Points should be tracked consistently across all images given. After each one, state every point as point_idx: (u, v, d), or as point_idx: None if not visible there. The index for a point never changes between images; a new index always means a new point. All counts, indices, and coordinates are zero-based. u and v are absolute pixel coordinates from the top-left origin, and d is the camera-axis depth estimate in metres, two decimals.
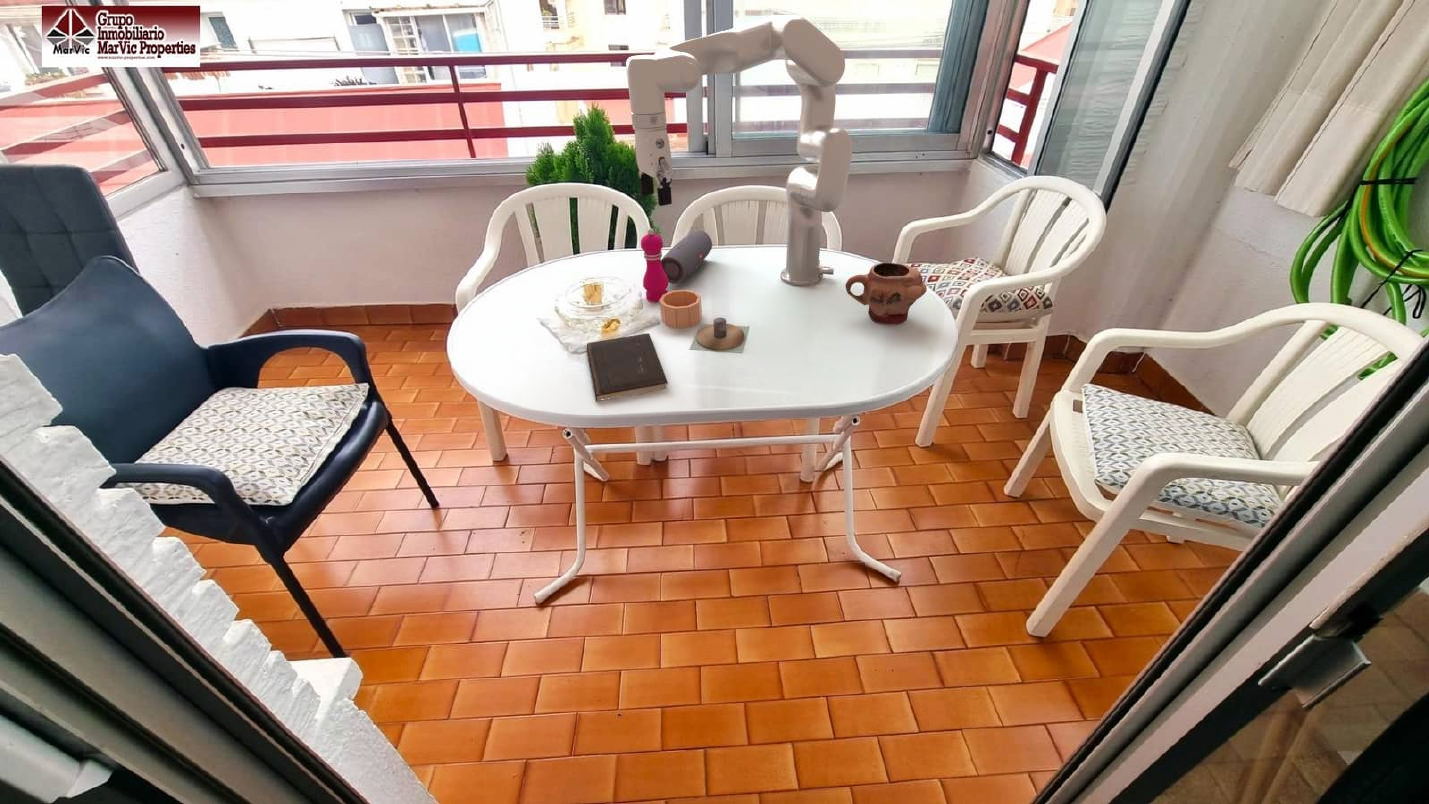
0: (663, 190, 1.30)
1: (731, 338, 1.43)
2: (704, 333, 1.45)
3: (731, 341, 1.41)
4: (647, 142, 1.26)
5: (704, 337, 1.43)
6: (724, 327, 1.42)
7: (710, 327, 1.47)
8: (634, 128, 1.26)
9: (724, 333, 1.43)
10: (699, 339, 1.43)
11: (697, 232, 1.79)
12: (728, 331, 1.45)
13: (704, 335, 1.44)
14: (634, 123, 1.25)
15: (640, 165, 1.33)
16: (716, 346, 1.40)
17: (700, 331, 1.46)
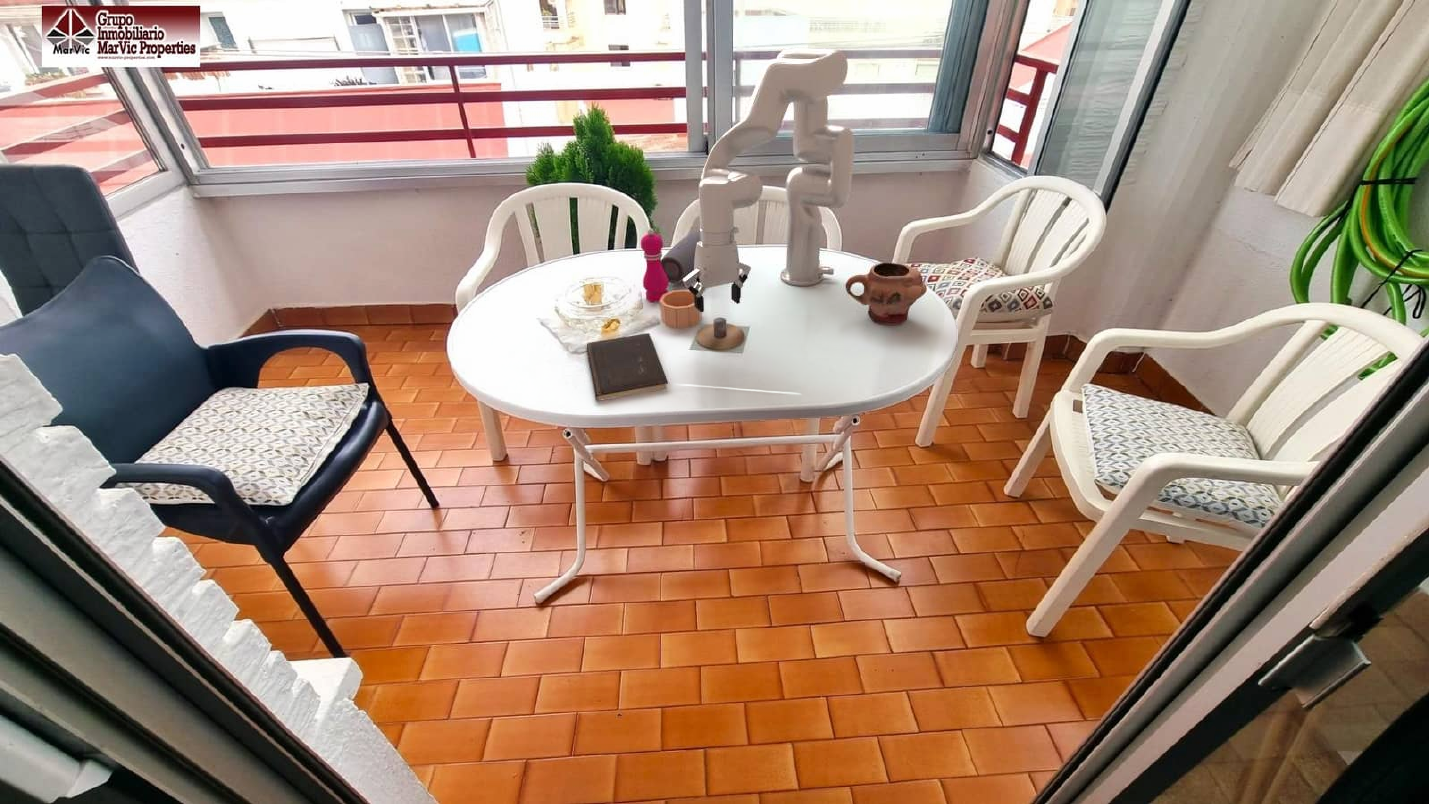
0: None
1: (731, 338, 1.43)
2: (704, 333, 1.45)
3: (731, 341, 1.41)
4: (733, 252, 1.30)
5: (704, 337, 1.43)
6: (724, 327, 1.42)
7: (710, 327, 1.47)
8: (725, 245, 1.27)
9: (724, 333, 1.43)
10: (699, 339, 1.43)
11: (697, 232, 1.79)
12: (728, 331, 1.45)
13: (704, 335, 1.44)
14: (726, 241, 1.26)
15: (713, 281, 1.32)
16: (716, 346, 1.40)
17: (700, 331, 1.46)
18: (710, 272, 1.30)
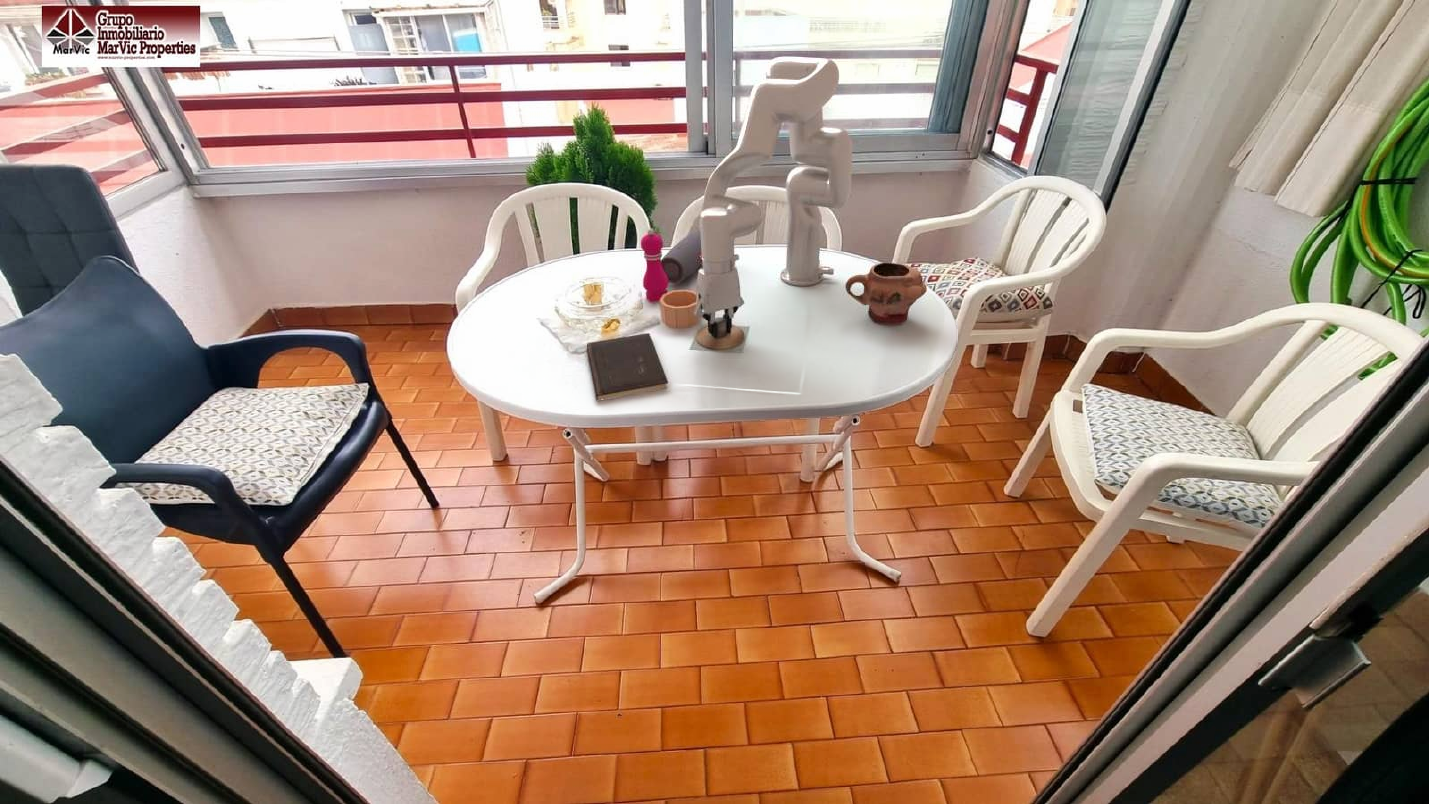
0: None
1: (731, 338, 1.43)
2: (704, 333, 1.45)
3: (731, 341, 1.41)
4: (734, 279, 1.35)
5: (704, 337, 1.43)
6: (724, 327, 1.42)
7: None
8: (726, 273, 1.31)
9: (724, 333, 1.43)
10: (699, 339, 1.43)
11: (697, 232, 1.79)
12: None
13: (704, 335, 1.44)
14: (727, 269, 1.30)
15: (715, 307, 1.36)
16: (716, 346, 1.40)
17: (700, 331, 1.46)
18: (712, 298, 1.35)
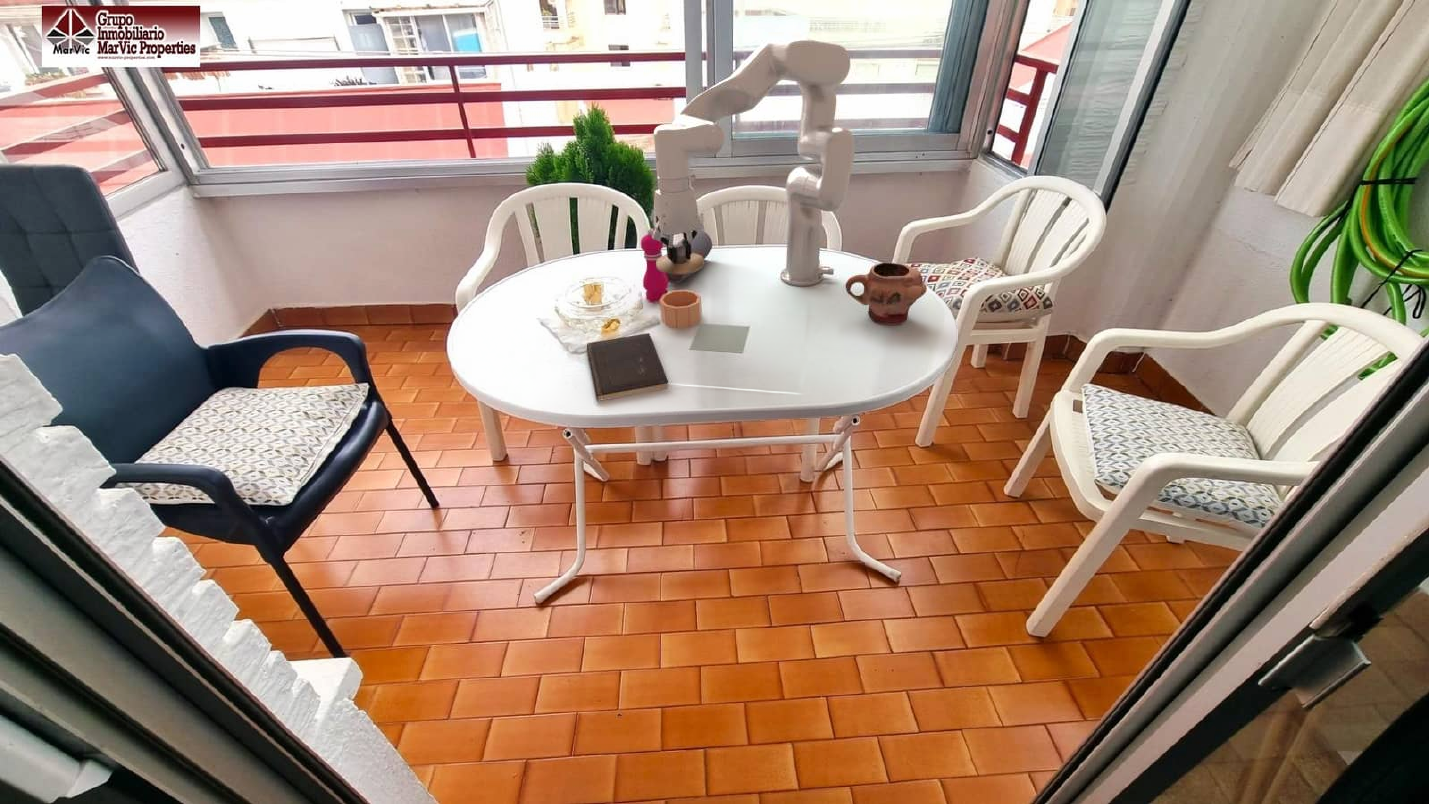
0: None
1: (691, 264, 1.42)
2: (664, 260, 1.44)
3: (690, 266, 1.41)
4: (691, 200, 1.34)
5: (664, 263, 1.43)
6: (683, 252, 1.41)
7: None
8: (682, 192, 1.30)
9: (684, 259, 1.42)
10: (658, 265, 1.42)
11: None
12: None
13: (664, 262, 1.43)
14: (682, 187, 1.30)
15: (672, 229, 1.36)
16: (675, 270, 1.39)
17: (660, 259, 1.45)
18: (669, 220, 1.34)
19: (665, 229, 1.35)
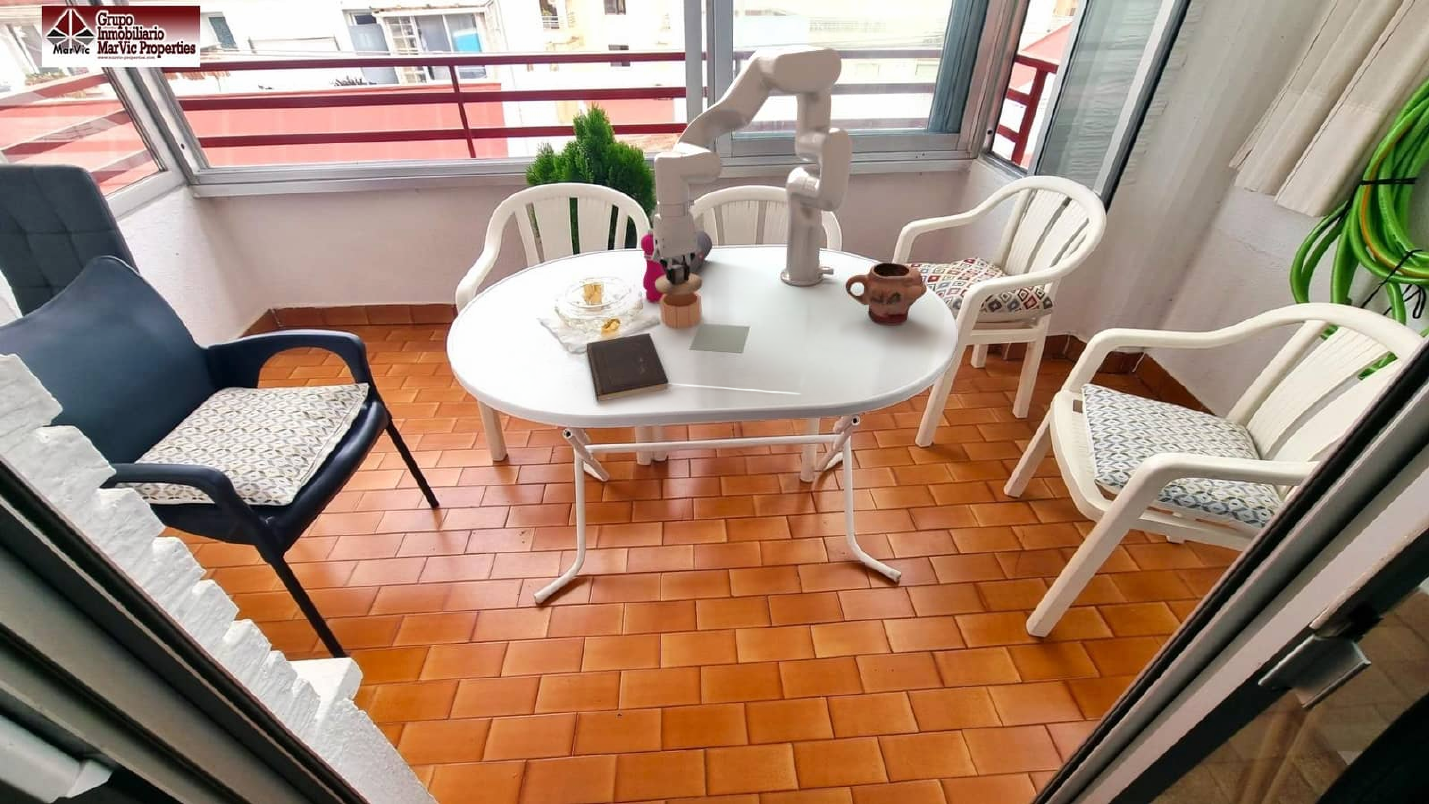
0: None
1: (689, 285, 1.46)
2: (663, 281, 1.48)
3: (688, 287, 1.45)
4: (690, 224, 1.38)
5: (663, 284, 1.46)
6: (682, 273, 1.45)
7: None
8: (680, 217, 1.34)
9: (682, 280, 1.46)
10: (657, 285, 1.46)
11: (697, 232, 1.79)
12: None
13: (663, 282, 1.47)
14: (681, 212, 1.34)
15: (671, 251, 1.40)
16: (673, 291, 1.43)
17: (659, 279, 1.49)
18: (668, 243, 1.38)
19: (664, 252, 1.39)
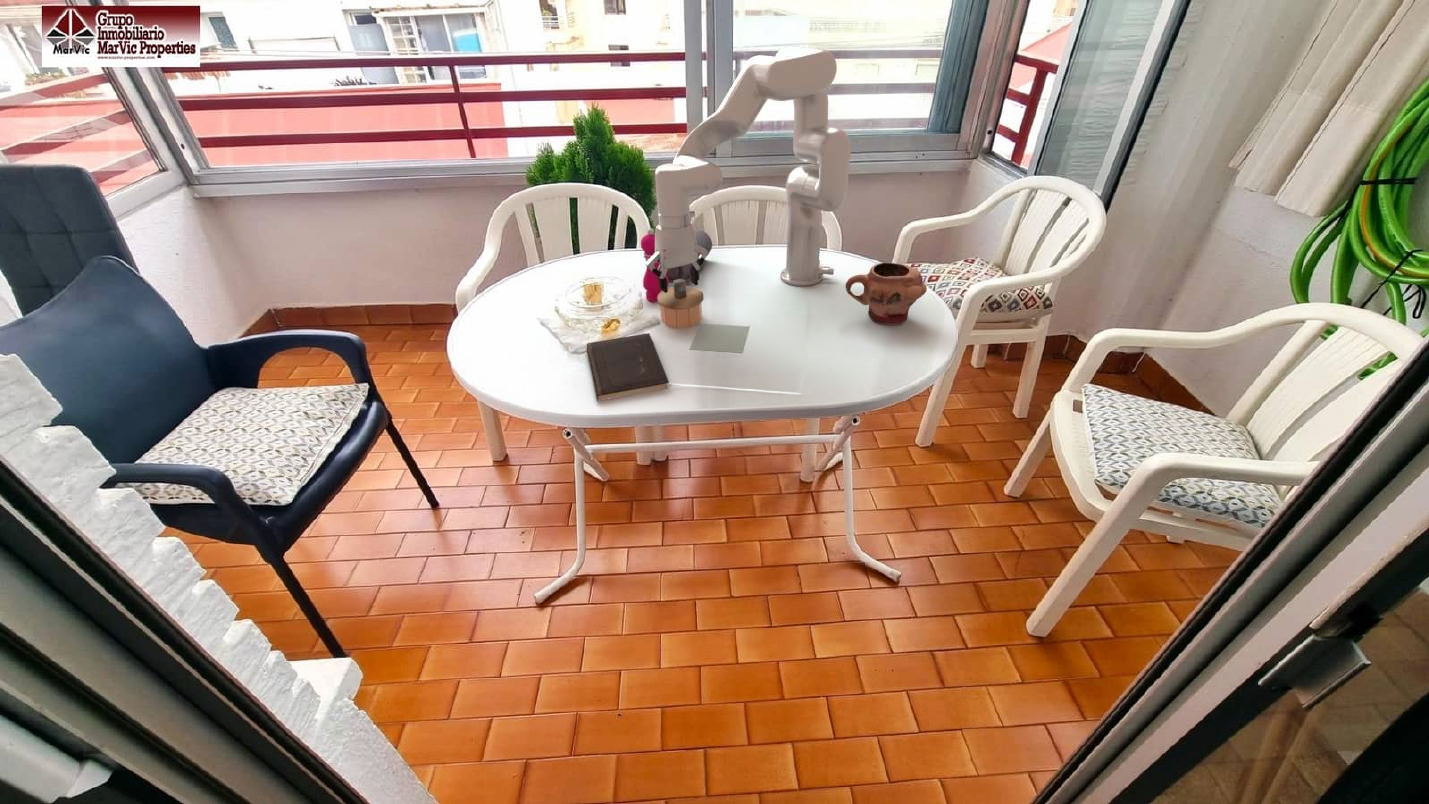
0: None
1: (690, 298, 1.48)
2: (665, 295, 1.50)
3: (690, 301, 1.47)
4: (690, 235, 1.40)
5: (665, 298, 1.49)
6: (683, 288, 1.47)
7: (672, 289, 1.53)
8: (681, 228, 1.36)
9: (684, 294, 1.48)
10: (660, 300, 1.48)
11: (697, 232, 1.79)
12: (688, 292, 1.51)
13: (665, 296, 1.50)
14: (682, 224, 1.35)
15: (672, 262, 1.41)
16: (675, 305, 1.45)
17: (661, 293, 1.51)
18: (669, 254, 1.40)
19: (665, 262, 1.41)
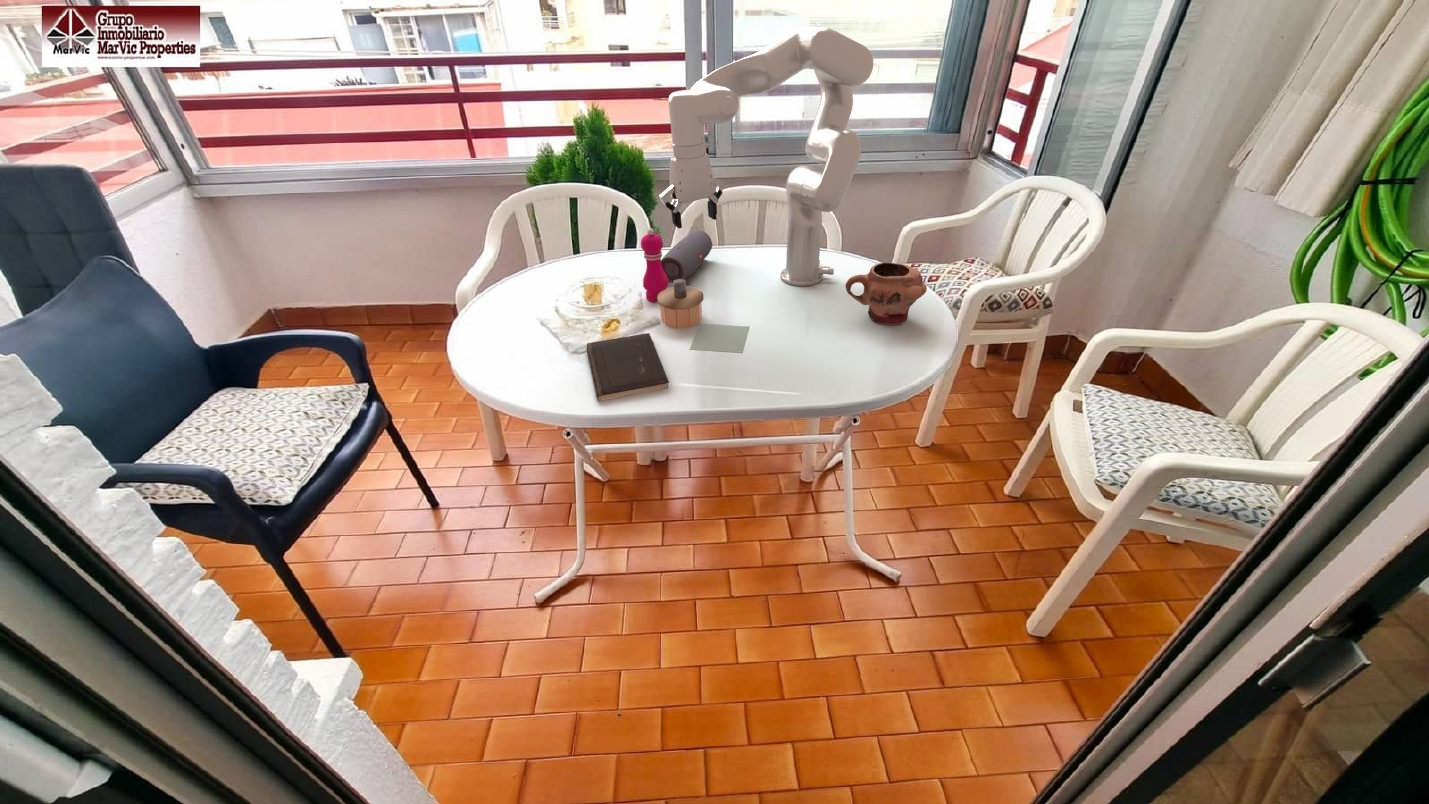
0: None
1: (690, 298, 1.48)
2: (665, 295, 1.50)
3: (690, 301, 1.47)
4: (706, 166, 1.36)
5: (665, 298, 1.49)
6: (683, 288, 1.47)
7: (672, 289, 1.53)
8: (697, 158, 1.32)
9: (684, 294, 1.48)
10: (660, 300, 1.48)
11: (697, 232, 1.79)
12: (688, 292, 1.51)
13: (665, 296, 1.50)
14: (698, 153, 1.32)
15: (688, 196, 1.38)
16: (675, 305, 1.45)
17: (661, 293, 1.51)
18: (685, 186, 1.36)
19: (681, 196, 1.37)
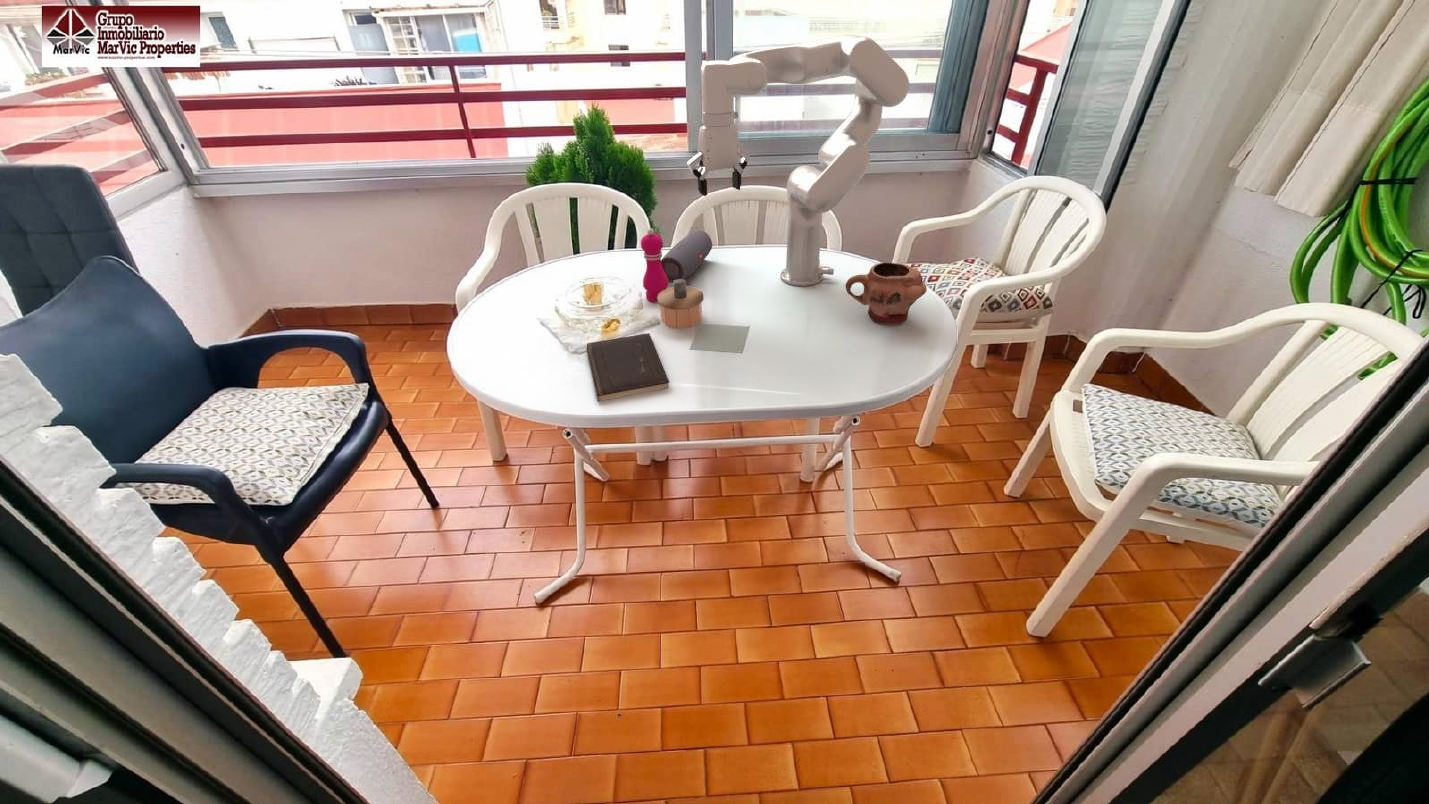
0: None
1: (690, 298, 1.48)
2: (665, 295, 1.50)
3: (690, 301, 1.47)
4: (733, 136, 1.41)
5: (665, 298, 1.49)
6: (683, 288, 1.47)
7: (672, 289, 1.53)
8: (725, 127, 1.38)
9: (684, 294, 1.48)
10: (660, 300, 1.48)
11: (697, 232, 1.79)
12: (688, 292, 1.51)
13: (665, 296, 1.50)
14: (726, 122, 1.37)
15: (715, 164, 1.43)
16: (675, 305, 1.45)
17: (661, 293, 1.51)
18: (712, 154, 1.41)
19: (708, 164, 1.42)
